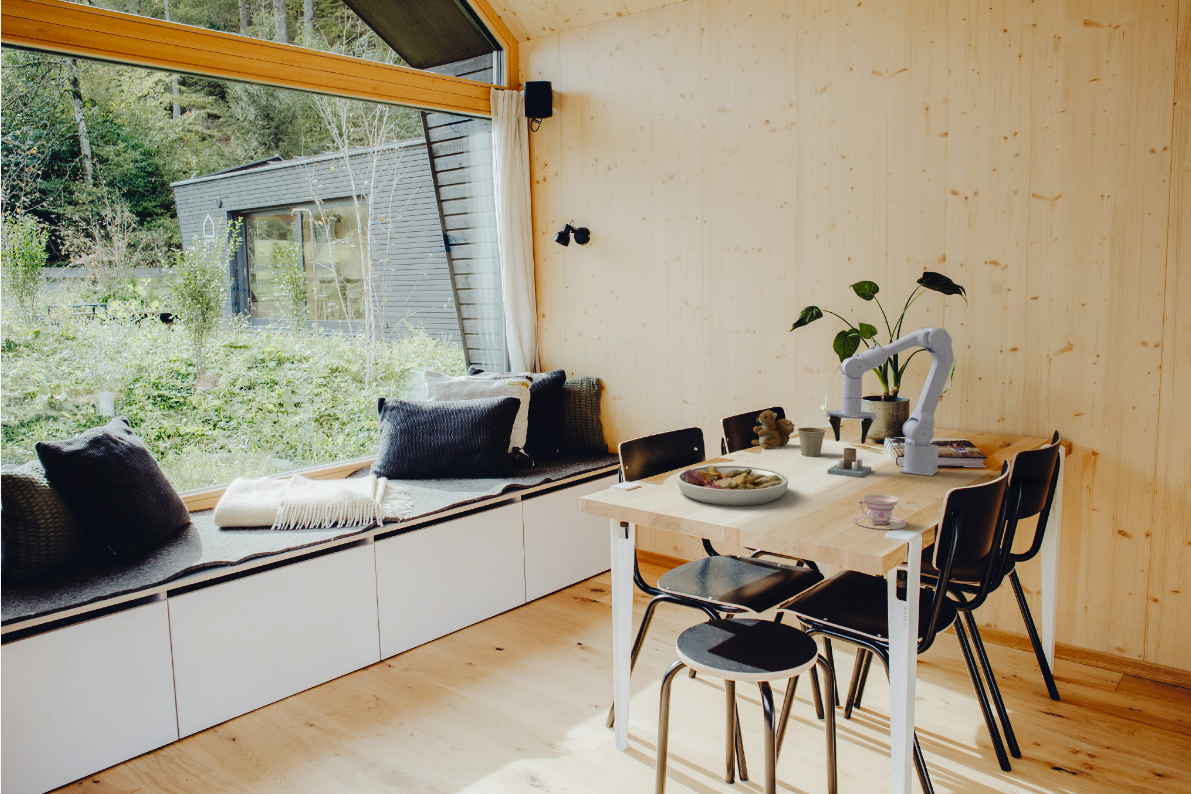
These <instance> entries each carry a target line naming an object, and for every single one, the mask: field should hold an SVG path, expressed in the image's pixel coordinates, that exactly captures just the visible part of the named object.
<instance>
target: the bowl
mask: <svg viewBox="0 0 1191 794" xmlns="http://www.w3.org/2000/svg"><path fill="white" fill-rule="evenodd" d="M676 479H677V480H676V481H677V485H678V487H679V489H680V491H681V492H682V493H683V495H685V496H687V497H688V498H690V499H692V500H694V501H698V502H701V503H705V502H706V504H710V503H712V504H713V505H718V504H721V506H733V505H743V506H756V504H757V505H763V504H767V503H771V502H773V501H776V500H778V499H779V498H781V497H782V496H784V494H785V492H786V491H787V490H788V485H789V478H788V476H786V475H785V474H783V473H781V472H778V471H775V470H772V469H768V468H761V467H755V466H747V465H746V466H745V465H713V464H711V465H707V466H702V467H701V466H700V467H694V468H689V469H687V470H683V471H681V472H679V474H678V475H677V477H676ZM712 504H711V505H712Z"/></svg>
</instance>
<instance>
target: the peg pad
mask: <svg viewBox="0 0 1191 794" xmlns="http://www.w3.org/2000/svg"><path fill="white" fill-rule="evenodd" d="M836 462H837V463H836V464H835V465H834V466H832V467H830V468H828V469H827V473H828V475H835V474H836V475H837V476H843V475H846V476H845V477H852V476H853V477H854V478H860V477H861V478H862V477H864V476H865V475H867V474H869V473H870V472H872V466H869V465H867V466H866V465H863V459H862V458H856V462H852V470H849V469H844V468H843V462H844V457H842V458H841V459H839V460H837V461H836ZM853 477H852V478H853Z"/></svg>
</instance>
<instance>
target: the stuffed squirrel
mask: <svg viewBox="0 0 1191 794" xmlns="http://www.w3.org/2000/svg"><path fill="white" fill-rule="evenodd" d="M777 416H778V413H776V412H774V411H772V410H770V409H767V410H763V411H762V412H761V413H760V414H759V416H758V417H757V418H756V422H759V423H760V424H761V425H757V426H754V427H753V429H752V430H753V433H755V434H758V436H759V438H758V439H753V440H751V445H753V446H761V447H762V449H764V450H773V449H777V448H778V447H784V446H786V445H788V443H789V442H790V435H791V434H792V433H794V432H795V428H794V427H796V425H795V424H794V423H793V422H792V421H791V420H789V419H785V418H781V419H778V420H776V418H777Z"/></svg>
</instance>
